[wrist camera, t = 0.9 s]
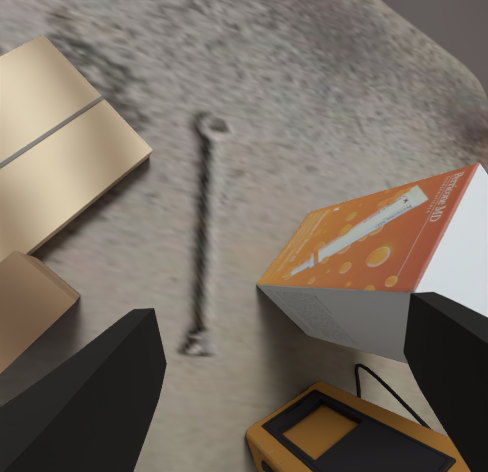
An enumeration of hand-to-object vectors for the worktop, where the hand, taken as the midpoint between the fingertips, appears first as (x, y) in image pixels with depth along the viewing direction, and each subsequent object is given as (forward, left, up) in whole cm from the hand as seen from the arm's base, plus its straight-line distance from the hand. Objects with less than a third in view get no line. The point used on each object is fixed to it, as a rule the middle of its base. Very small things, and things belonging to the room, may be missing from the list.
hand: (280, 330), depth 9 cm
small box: (+9, -7, -13) cm, 17 cm away
